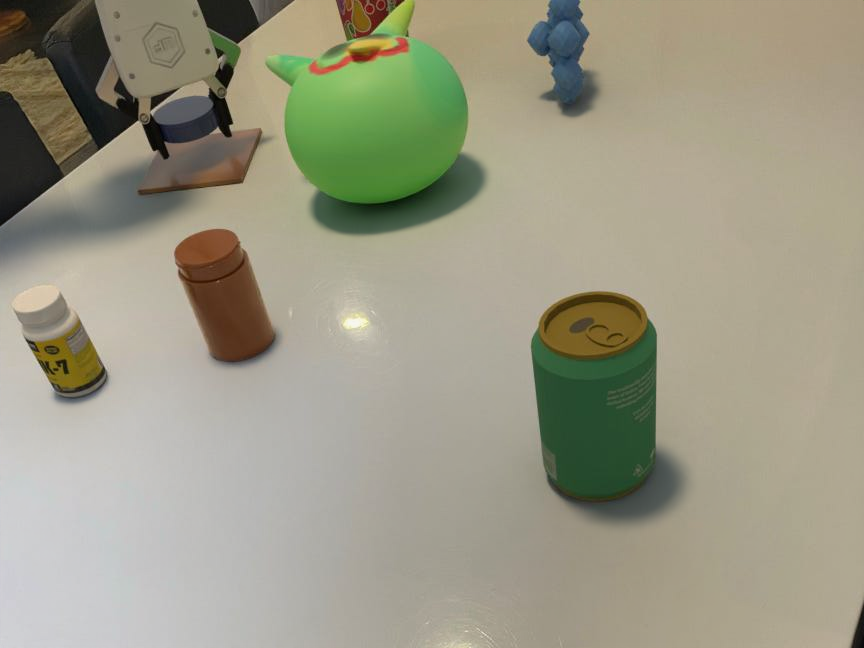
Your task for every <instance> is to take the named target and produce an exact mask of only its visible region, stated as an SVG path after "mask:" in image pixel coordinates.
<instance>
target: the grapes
mask: <svg viewBox="0 0 864 648" xmlns="http://www.w3.org/2000/svg"><path fill="white" fill-rule="evenodd" d="M580 4H581V0H549V2H548V3H547V7H548V8H549V9H548V10H547V12H546V16H547V21H545V20H540V21H538V22H537V23H535V24H534V27H533V28H531V29H532V30H531V32H530V33H529V35H528V37H527V39H526V42H527V43H528V45H529V46H530V48H531V49H532V50H533V51H534V53H536V55H537V56H539V57H546V56H548V58H549V61H548V64H549V65H550V66H551V67H552V70H551V72H550V75H551V76H552V78H553V81H554V82H555V83H554V85H553V87H552V89H553V91H554V92H555V94H556V96H557V97H558V98H559V99H560V100H561V101H562V102H563V104H568V105H572V104H573V103H574V102H575V101H576V100H577V99H578V97H579V95H580V93H581V92H582V90H583V88H584V86H585V84H584V83H583V81H584V79H585V75H584V73H583V71H584V70H583V68H582V67H581V65H580V64H579V61H580V59H581V57H582V55H583V53H584V51H585V47H584V45H585V44H586V42H587V40H588V38H589V36H590V32H589V30H588V28H587V27H586V25H585V24H584V23H583V22H582V19H583V16H584V13H583V11H582V10H581V8H580V7H579V6H580Z"/></svg>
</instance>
